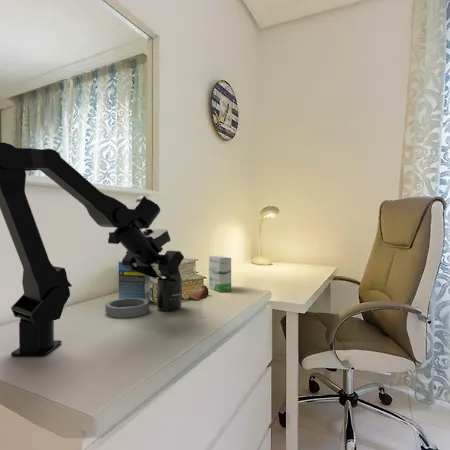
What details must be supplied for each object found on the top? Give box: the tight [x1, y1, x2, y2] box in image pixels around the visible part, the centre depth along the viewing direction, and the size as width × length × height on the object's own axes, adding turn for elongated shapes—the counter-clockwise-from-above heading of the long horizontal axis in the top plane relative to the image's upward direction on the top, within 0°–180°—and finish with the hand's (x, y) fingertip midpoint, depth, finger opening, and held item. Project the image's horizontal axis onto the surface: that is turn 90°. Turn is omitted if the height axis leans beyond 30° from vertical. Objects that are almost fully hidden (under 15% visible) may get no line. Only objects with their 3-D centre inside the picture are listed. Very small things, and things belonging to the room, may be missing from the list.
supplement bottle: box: [156, 273, 183, 312], centre depth 93 cm, size 7×7×12 cm
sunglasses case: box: [188, 284, 210, 302], centre depth 109 cm, size 18×7×7 cm
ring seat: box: [104, 298, 150, 319], centre depth 90 cm, size 11×11×2 cm
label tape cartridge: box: [118, 261, 151, 302], centre depth 101 cm, size 9×4×12 cm, turn 76°
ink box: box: [208, 255, 232, 293], centre depth 118 cm, size 9×5×12 cm, turn 30°
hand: (167, 278), depth 92 cm, fingers open, 9 cm apart
